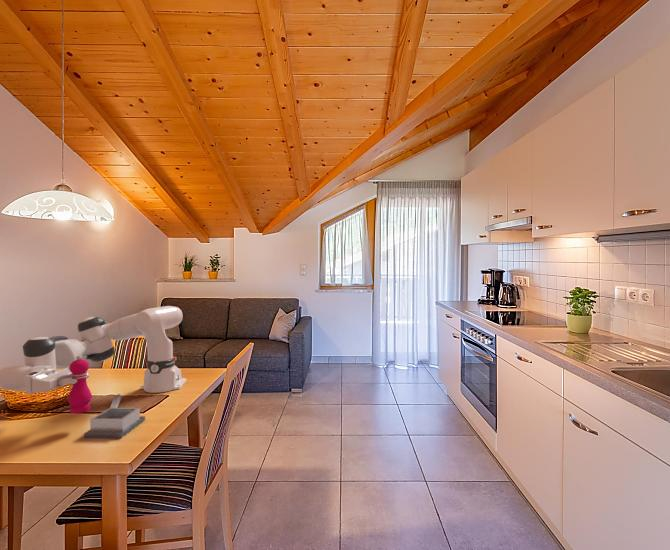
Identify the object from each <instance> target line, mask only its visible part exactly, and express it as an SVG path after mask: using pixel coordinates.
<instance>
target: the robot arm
mask: <svg viewBox="0 0 670 550" xmlns="http://www.w3.org/2000/svg"><path fill="white" fill-rule="evenodd" d="M183 317H184V316H183V311H182V309H181V308H179V307H178V306H174V305H173V306H172V305H166V306H165V305H163V306H158V307H157V306H156V307H150V308H146V309H143V310H140V311H139V312H137V313H133V314H130V315H127V316H124V317H120V318H118V319H116V320H114V321H111V322H109V323H107V322H108V320H107V319H103V318H102V317H98V316H89V317H86V318H84V319H82V320H81V321H80V322H79V323H78V324H77V330H78V331H77V332H79V335H80V338H79V337H74V338H68V336H65V335H64V336H63V335H57V336H55V335H54V336H37V337H32V338H29V339H28V340H26V341H25V343H24V344H23V345H22V351H23V357H24V365H11V366H5V367H3V368H1V369H0V388H1V389H2V390H6V391H17V392H19V391H22V392H23V391H25V394H26V395H33V394H38V393H39V394H40V393H48V392H51V391H54V390H56V389H58V388H61V387H64V386H68V385H73V384H75V383H77V378H71V377H72V376H71V374H72V372H70V370H69V367H70V364H71V363H72V362H73V361H75V360H77V359H76V357H77V356H79V355H80V356H82V358H83V357H85V360H90V361H92V362H95V363H99V362H105V361H108V360H109V359H111V358H112V357H113V356H114V354H115V353H116V351H115V347H114V346H113V345H114V344H113V341H126V340H130V339H134V338H137V337H142V336H143V337H144V339H145V342H146V346H147V347H146V348H147V349H146V350H147V359H146V370H145V371H144V373H143V385H142V386H141V388H140V389H141V390H143V391H144V392H146V393H151V394H155V393H157V394H159V393H166V392H171V391H173V390H180V389H181V388H182V387H183V385H185V383H186V382H187V378H185V377H182V370H181V369H180V368H178V366H176V365H175V364H176V361H177V356H174V348H173V346H174V345H173V341H172V339H170V338H168V336H167V334H166V330H169V329H173V328H175V327H176V326H178V325H180V324H181V323H182V321H183ZM112 340H113V341H112ZM57 367H59V368H61V369H59V370H58V369H57ZM87 375H88V376H87V377H86V379H89V378H90V373H88V372H87Z"/></svg>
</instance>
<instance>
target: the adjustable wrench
mask: <svg viewBox="0 0 670 550" xmlns="http://www.w3.org/2000/svg"><path fill="white" fill-rule="evenodd" d="M121 400H122V394H115V395H114V396H113V398H112V401H111V404H110V407H109V408H119V404H120V402H121Z"/></svg>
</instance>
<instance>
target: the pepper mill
mask: <svg viewBox="0 0 670 550" xmlns="http://www.w3.org/2000/svg"><path fill="white" fill-rule="evenodd" d="M82 358H83V357H82V356H80V355H79V356H77V357H76V359H77V360H75V361H73V362H72V363H71V364H70V366H68V367H69V370H70V372H72V374H71V376H72V377H71V378H77V383H75V384H72V387H71V390H70V392H69V395H68V399H67V402H68V404H69V405H70V407H69V412H70V413H71V414H83V413H85V412H89V411H90V410H91V404H90V401H92V397H93V396H92V392H91V390H90V388H89V386H88V383H87V378H86V377H87V376H88V375H87V373H88V372H87V371H88V370H89V368H90V365H89V362H88V360H87V359H82Z"/></svg>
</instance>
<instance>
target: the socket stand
mask: <svg viewBox="0 0 670 550" xmlns="http://www.w3.org/2000/svg"><path fill="white" fill-rule="evenodd" d="M144 420H145V421H146V416H145V415H144V416H141V408H140V407H118V408H110V407H109V408H106V410H104V411H102V412H100V413H99V414H97V415H95V416H94V417H92V418H90V419H89V423H90V424H89V426H90V428H89V430H87V431H86V432H84V433H83V438H84V439H123V438H124V437H125V436H126V435H128V434H130V432H132V431H133V430H135V429H136V428H137V427H138V426H140V425H141V424H143V423H144V422H145V421H144ZM143 421H144V422H143ZM139 424H140V425H139ZM135 427H136V428H135ZM132 429H133V430H132ZM131 430H132V431H131ZM127 433H128V434H127ZM123 436H124V437H123ZM122 437H123V438H122Z"/></svg>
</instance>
